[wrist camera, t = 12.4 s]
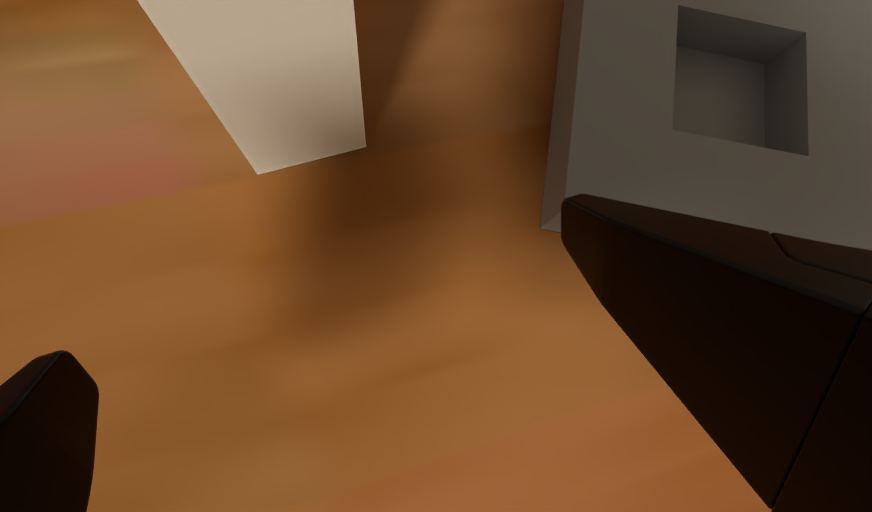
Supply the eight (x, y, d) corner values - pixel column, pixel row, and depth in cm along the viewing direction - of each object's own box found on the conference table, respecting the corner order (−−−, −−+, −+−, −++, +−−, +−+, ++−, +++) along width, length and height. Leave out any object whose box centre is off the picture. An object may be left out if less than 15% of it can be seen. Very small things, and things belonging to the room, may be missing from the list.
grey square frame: (839, 281, 19) (907, 270, 16) (539, 228, 18) (563, 208, 16) (830, 16, 21) (887, -27, 19) (568, -41, 21) (593, -94, 18)
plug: (366, 147, 18) (338, -166, 7) (257, 174, 17) (51, -124, 7) (336, 53, 19) (271, -360, 8) (231, 76, 18) (4, -339, 7)
